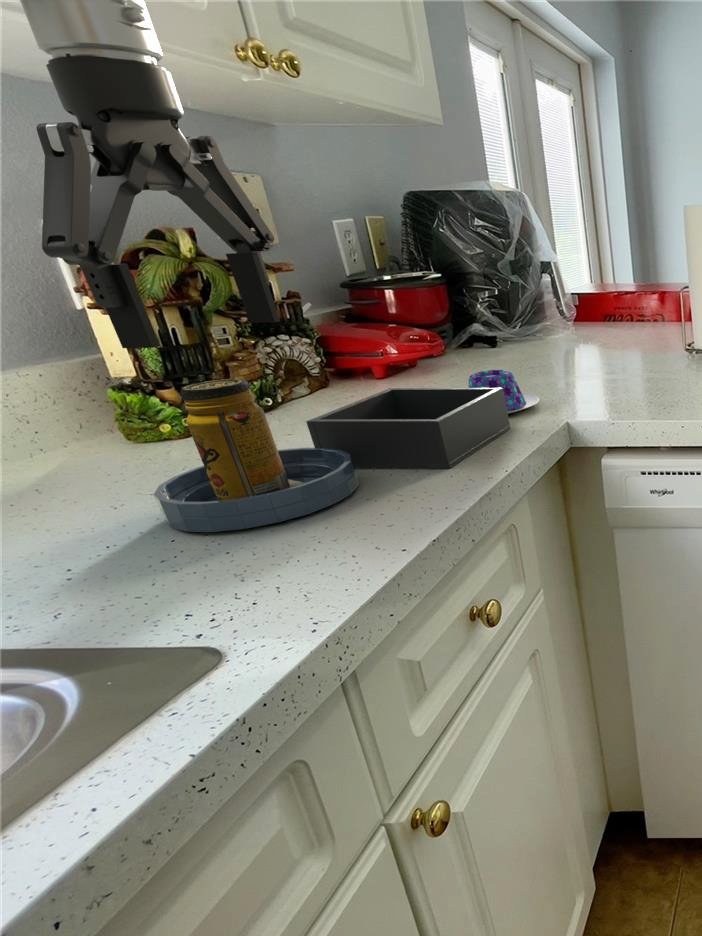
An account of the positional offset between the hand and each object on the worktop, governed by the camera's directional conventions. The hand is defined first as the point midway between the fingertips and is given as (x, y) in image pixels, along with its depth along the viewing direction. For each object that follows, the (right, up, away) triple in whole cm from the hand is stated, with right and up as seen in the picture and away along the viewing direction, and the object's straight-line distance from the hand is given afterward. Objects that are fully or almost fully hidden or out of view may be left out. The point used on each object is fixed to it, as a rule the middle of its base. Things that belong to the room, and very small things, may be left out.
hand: (209, 334), depth 66 cm
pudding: (+10, 0, +39) cm, 40 cm away
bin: (+8, -8, +23) cm, 25 cm away
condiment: (0, -15, +7) cm, 17 cm away
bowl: (0, -15, +7) cm, 17 cm away
